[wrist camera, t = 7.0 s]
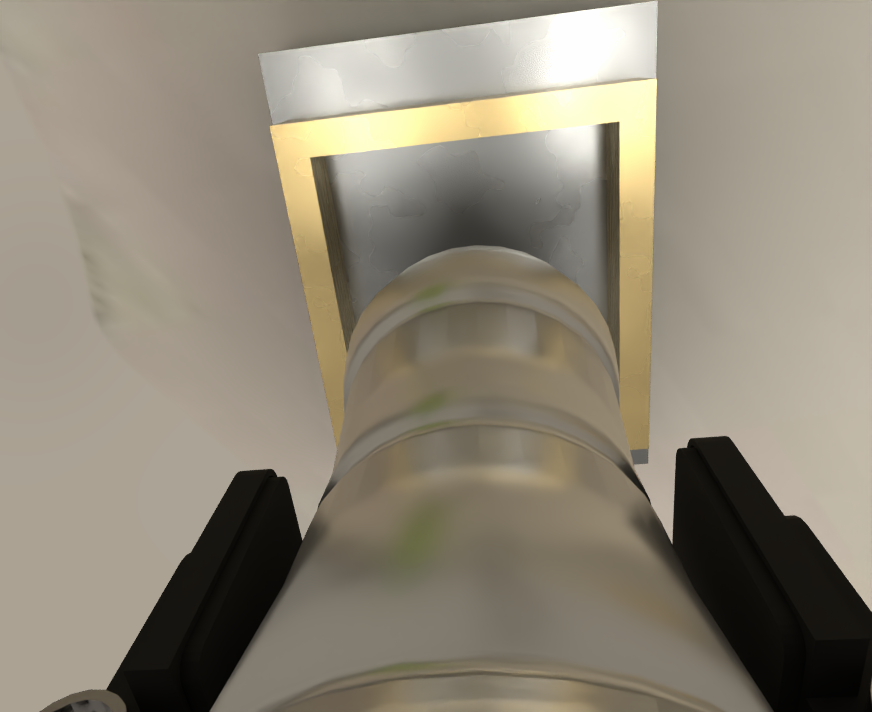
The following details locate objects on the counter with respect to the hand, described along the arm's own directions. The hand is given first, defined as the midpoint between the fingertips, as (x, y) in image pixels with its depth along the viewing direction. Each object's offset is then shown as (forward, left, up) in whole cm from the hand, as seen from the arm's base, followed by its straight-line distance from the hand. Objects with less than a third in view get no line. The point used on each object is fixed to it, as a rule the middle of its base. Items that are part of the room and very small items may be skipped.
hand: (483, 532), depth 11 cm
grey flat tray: (0, 0, -16) cm, 16 cm away
